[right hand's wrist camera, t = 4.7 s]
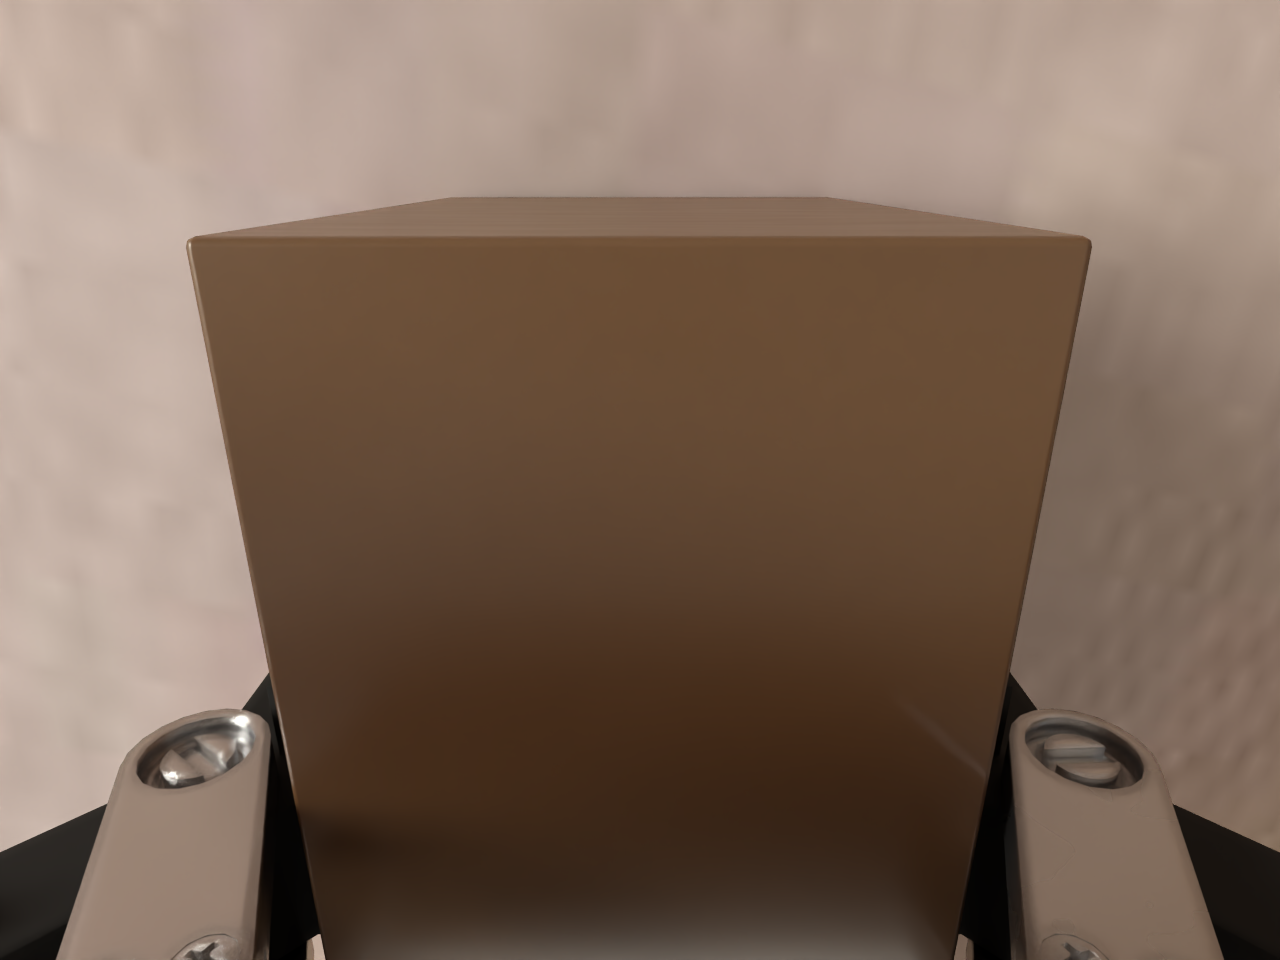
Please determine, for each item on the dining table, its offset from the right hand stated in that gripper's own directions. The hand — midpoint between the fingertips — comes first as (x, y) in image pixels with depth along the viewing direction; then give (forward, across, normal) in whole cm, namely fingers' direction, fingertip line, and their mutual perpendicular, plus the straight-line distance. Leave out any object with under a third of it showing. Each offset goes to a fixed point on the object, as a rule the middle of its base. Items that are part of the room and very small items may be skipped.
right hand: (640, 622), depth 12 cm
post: (+2, 0, -27) cm, 27 cm away
